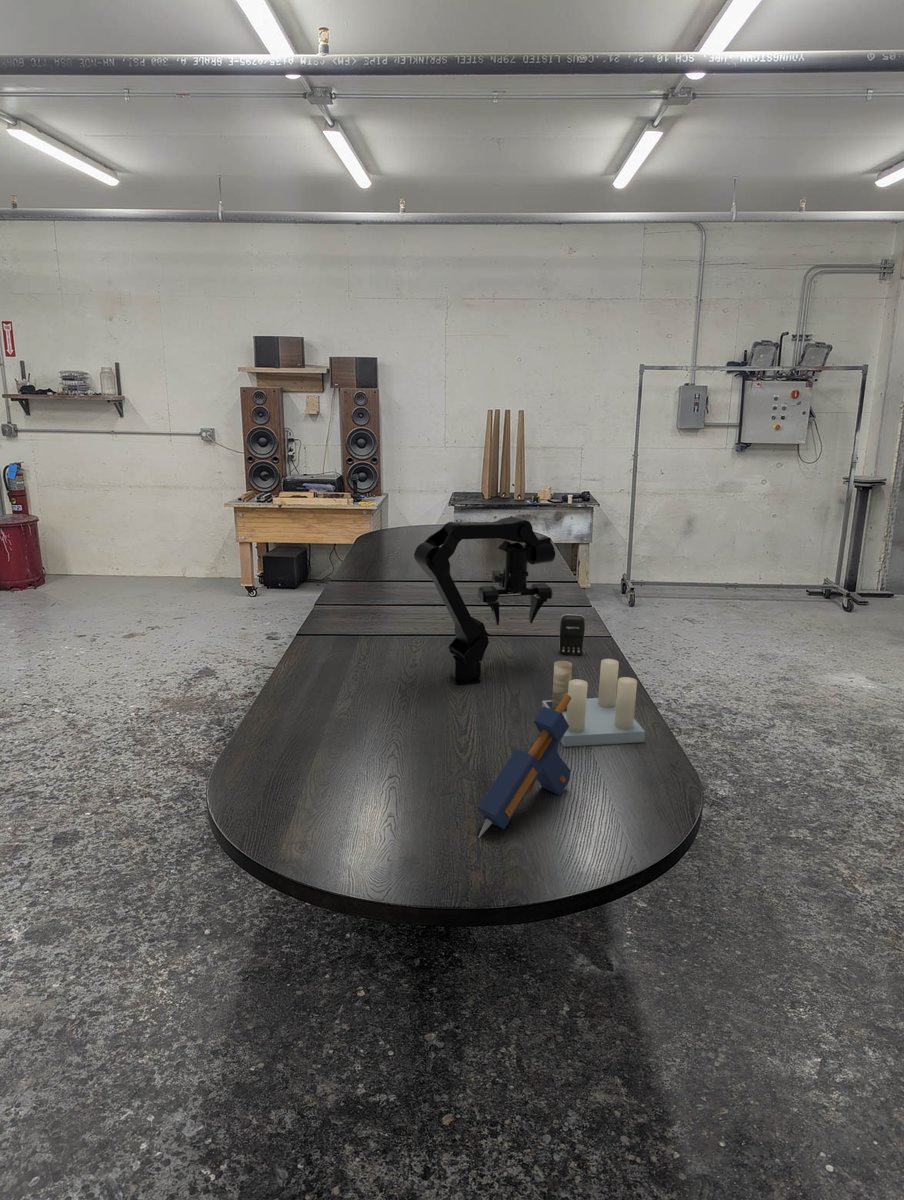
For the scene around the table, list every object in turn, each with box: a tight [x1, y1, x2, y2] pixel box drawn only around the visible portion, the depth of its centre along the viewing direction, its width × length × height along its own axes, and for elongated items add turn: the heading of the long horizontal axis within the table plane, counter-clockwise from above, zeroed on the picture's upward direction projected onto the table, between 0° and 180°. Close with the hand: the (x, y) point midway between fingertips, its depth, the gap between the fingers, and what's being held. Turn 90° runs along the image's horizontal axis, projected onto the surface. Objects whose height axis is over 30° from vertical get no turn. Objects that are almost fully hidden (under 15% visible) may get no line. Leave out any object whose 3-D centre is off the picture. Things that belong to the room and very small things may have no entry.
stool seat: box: [541, 658, 646, 748], centre depth 165 cm, size 18×18×13 cm
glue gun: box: [477, 694, 571, 839], centre depth 135 cm, size 6×31×15 cm
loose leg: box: [551, 660, 573, 712], centre depth 169 cm, size 4×4×13 cm
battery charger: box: [558, 613, 586, 656], centre depth 208 cm, size 7×4×11 cm, turn 83°
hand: (514, 623), depth 194 cm, fingers open, 9 cm apart
